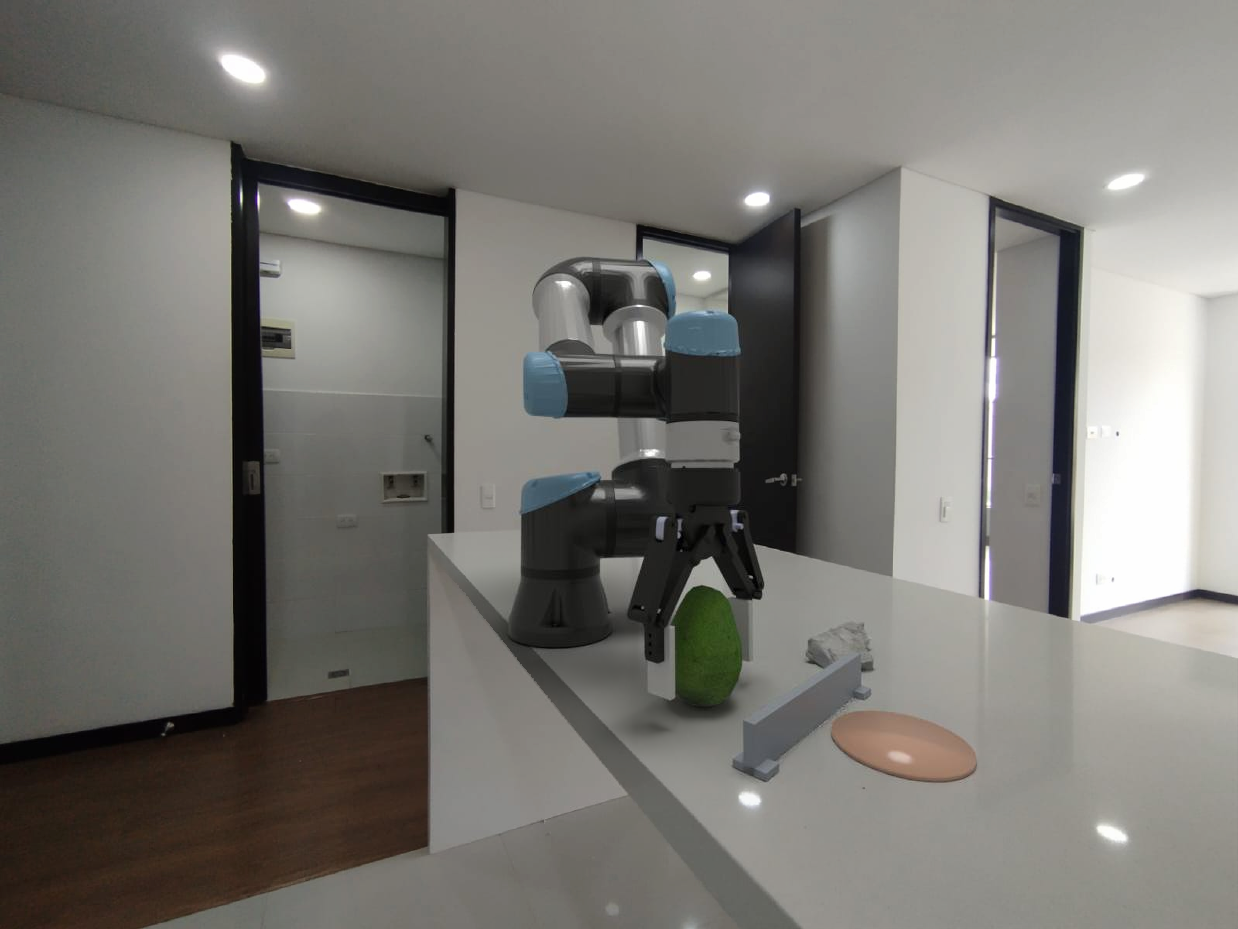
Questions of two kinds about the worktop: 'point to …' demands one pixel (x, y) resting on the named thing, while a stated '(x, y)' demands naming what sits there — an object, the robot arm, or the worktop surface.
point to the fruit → (706, 647)
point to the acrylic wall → (797, 715)
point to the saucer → (903, 746)
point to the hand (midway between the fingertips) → (704, 675)
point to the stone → (840, 645)
